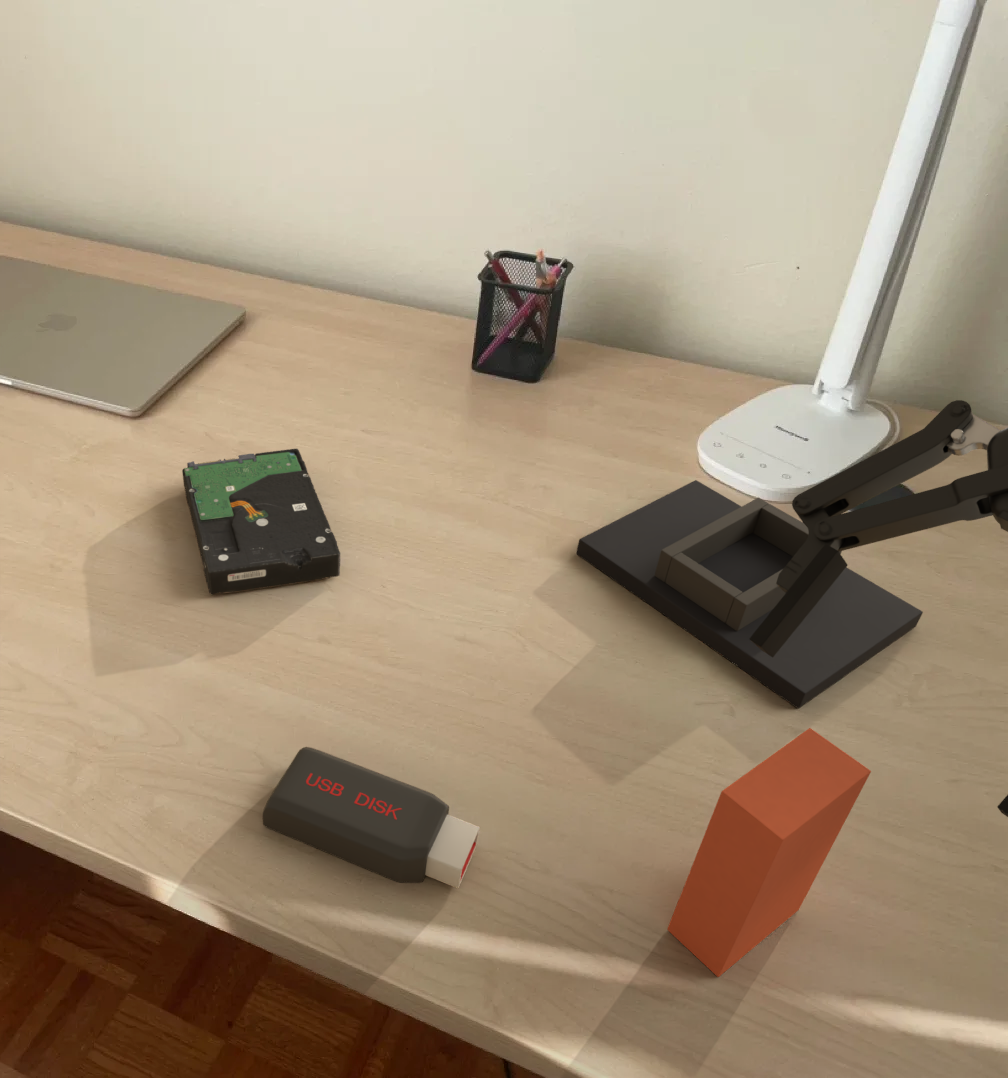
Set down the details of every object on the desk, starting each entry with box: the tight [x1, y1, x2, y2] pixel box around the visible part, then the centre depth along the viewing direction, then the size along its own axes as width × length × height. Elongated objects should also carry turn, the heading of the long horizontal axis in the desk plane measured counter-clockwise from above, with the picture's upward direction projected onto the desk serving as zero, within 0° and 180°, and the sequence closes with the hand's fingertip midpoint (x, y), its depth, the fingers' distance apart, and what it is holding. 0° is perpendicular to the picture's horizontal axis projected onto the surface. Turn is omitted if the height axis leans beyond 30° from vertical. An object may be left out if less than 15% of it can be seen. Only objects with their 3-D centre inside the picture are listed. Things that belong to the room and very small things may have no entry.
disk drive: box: [181, 448, 341, 596], centre depth 85 cm, size 10×3×15 cm
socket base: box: [575, 479, 924, 709], centre depth 79 cm, size 20×14×4 cm
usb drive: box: [262, 746, 481, 889], centre depth 62 cm, size 5×12×3 cm, turn 63°
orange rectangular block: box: [667, 727, 872, 978], centre depth 55 cm, size 3×7×12 cm, turn 125°
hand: (873, 726), depth 54 cm, fingers open, 13 cm apart
